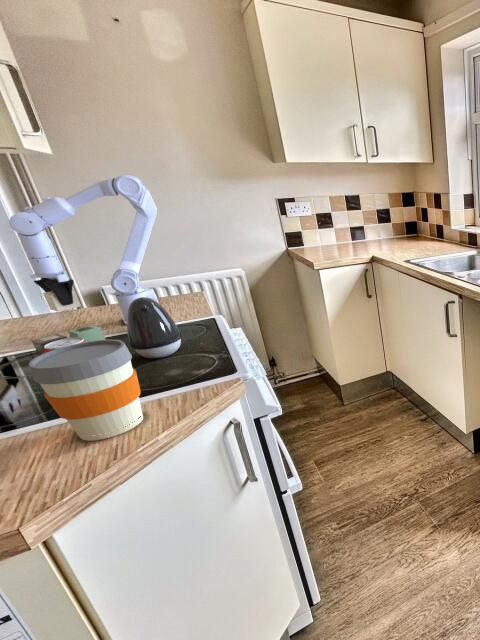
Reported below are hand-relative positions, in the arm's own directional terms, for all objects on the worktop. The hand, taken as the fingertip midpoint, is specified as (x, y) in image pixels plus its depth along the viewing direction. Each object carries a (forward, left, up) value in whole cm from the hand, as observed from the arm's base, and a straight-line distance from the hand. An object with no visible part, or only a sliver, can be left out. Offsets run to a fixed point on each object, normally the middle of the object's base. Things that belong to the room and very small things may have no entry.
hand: (63, 303), depth 123 cm
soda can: (+1, +56, -9) cm, 57 cm away
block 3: (-2, +21, -8) cm, 23 cm away
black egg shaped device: (-14, +42, -9) cm, 45 cm away
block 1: (0, 0, -1) cm, 1 cm away
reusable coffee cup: (-1, +76, -9) cm, 77 cm away
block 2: (+5, +23, -8) cm, 25 cm away
